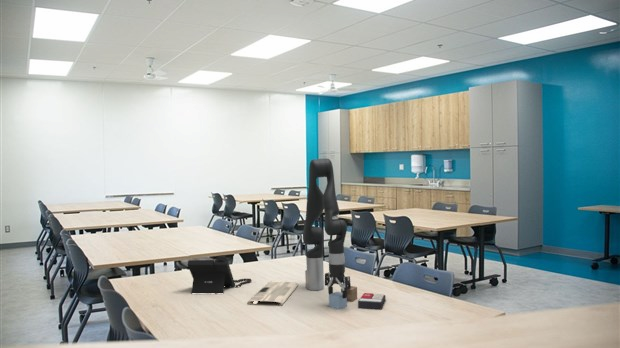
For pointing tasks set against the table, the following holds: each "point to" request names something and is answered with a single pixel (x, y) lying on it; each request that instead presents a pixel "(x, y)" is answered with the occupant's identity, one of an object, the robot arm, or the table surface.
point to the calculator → (372, 301)
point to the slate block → (337, 300)
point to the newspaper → (275, 292)
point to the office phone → (212, 275)
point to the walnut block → (351, 294)
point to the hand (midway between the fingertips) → (337, 296)
